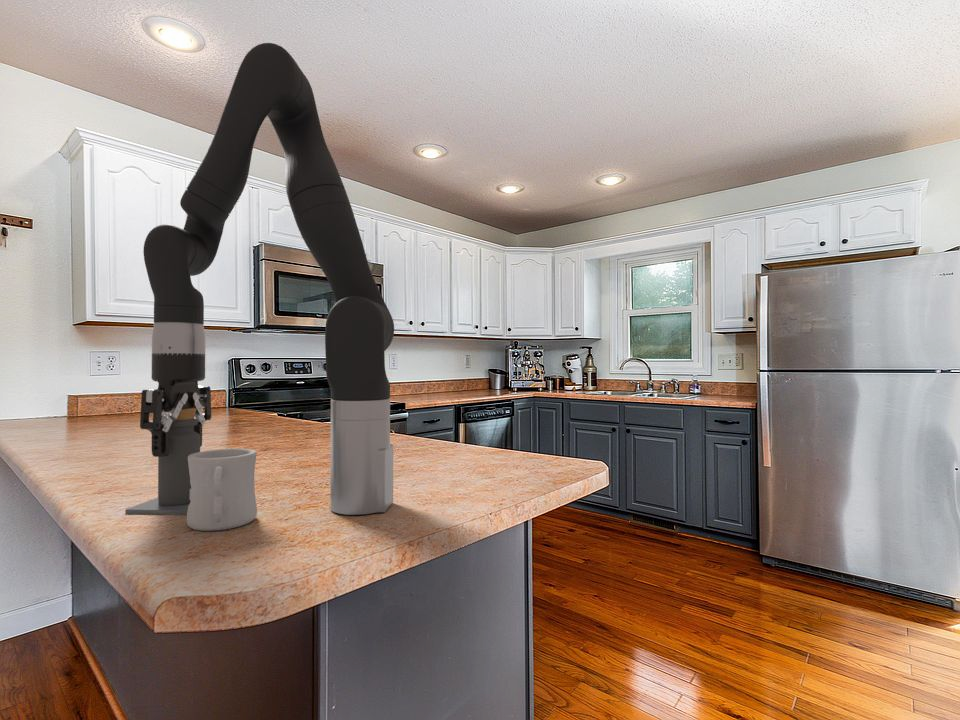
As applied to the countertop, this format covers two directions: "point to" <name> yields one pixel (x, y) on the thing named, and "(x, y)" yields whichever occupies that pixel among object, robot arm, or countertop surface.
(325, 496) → the countertop surface
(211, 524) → the mug
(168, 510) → the coaster
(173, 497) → the bottle
